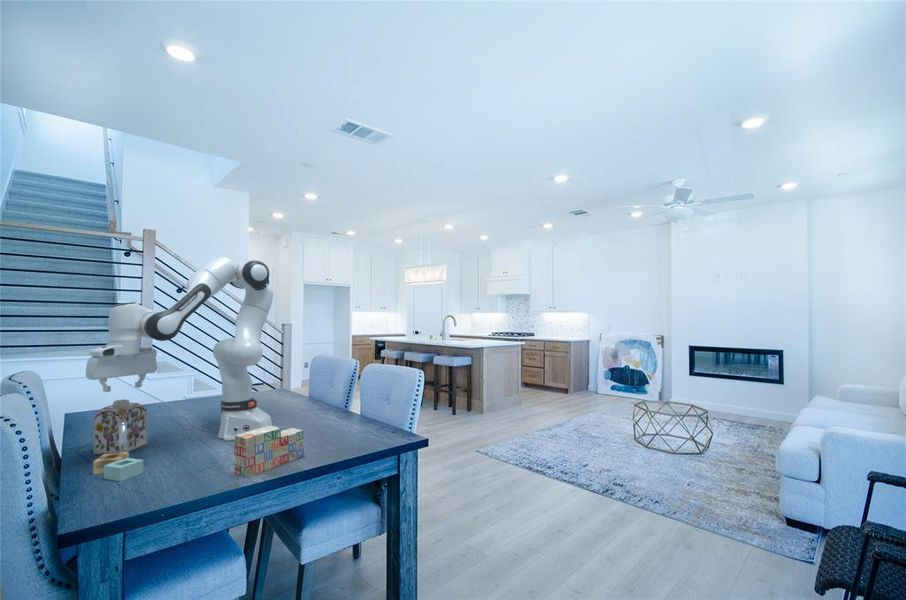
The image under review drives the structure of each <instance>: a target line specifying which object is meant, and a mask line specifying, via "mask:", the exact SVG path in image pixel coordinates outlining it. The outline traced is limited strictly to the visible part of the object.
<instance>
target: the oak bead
mask: <svg viewBox="0 0 906 600" xmlns="http://www.w3.org/2000/svg"><path fill="white" fill-rule="evenodd" d="M125 458H130V452H123V453H112V454H101V455H100V456H99V457H98V458H97V459H95V460H93V461H92V462H93V463H92V464H93V465H92V467H93V469H92V470H93V472H92V474H93V475H99V474H101V475H102V474H104V465H107V464H110V463H113V462H116V461H119V460H122V459H125Z"/></svg>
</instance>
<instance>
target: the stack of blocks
mask: <svg viewBox="0 0 906 600" xmlns="http://www.w3.org/2000/svg"><path fill="white" fill-rule="evenodd" d="M273 426H274V425H272V426H266V427H263V428H259V429H256V430H252V431H249V432H245V433H241V434H238V435H235V440H234V474H236V475H238V476H241V477H244V478H248V477H251V476H255V475H257V474H260V473H263V472H265V471H269V470H270V469H273V468H276V467H278V466H281V465H284V464H287V463H290V462H292V461H295V460H298V459H301V458H303V457H304V456H305V455H304V454H305V444H304V443H305V440H304V439H305V438H304V437H305V436H304V429H300V428H299V429H298V428H294V427H290V428H287V429H283V430H281V429H282V428H280V427H278V426H277V427H278V428H277V427H273Z"/></svg>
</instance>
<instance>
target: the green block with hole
mask: <svg viewBox="0 0 906 600" xmlns="http://www.w3.org/2000/svg"><path fill="white" fill-rule="evenodd" d="M143 473H144V459H140V458H139V459H138V458H131V457H129V458H125V459H122V460H119V461H116V462H113V463H110V464H107V465H104V473H103V480H104V479H105V480H110V481H117V482H123V481H125V480H127V479H130V478H134V477H136V476H138V475H141V474H143Z"/></svg>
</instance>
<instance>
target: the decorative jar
mask: <svg viewBox="0 0 906 600" xmlns="http://www.w3.org/2000/svg"><path fill="white" fill-rule="evenodd" d="M112 402H113V403H112V404H110V405H108V406H104V407H102V408H101V409H100V410H98V412H97V413H96V414H95V415H94V416H93V428H92V429H93V431H92V432H93V433H92V434H93V435H92V436H93V437H92V438H93V439H92V441H93V442H92V443H93V444H92V446H93V449H92V451H93V454H94V455H103V454H112V453H119V424H120V423H122V422H126V423H127V452H129V453H130V452H132V451H134V450H137V449H139V448H141V447H144V446H146V445H148V412H147V411H148V409H147V408H146V406H143V405H142V404H140V403H139V402H130V399H115V400H113V401H112Z"/></svg>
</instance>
